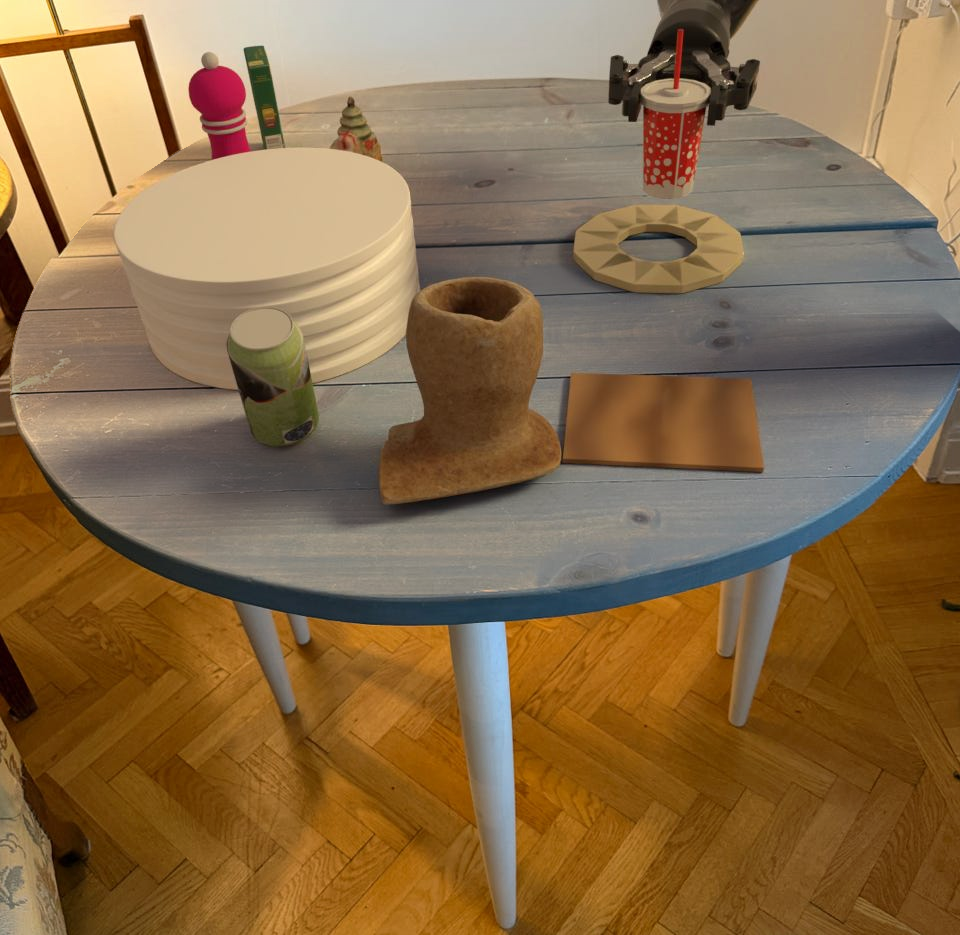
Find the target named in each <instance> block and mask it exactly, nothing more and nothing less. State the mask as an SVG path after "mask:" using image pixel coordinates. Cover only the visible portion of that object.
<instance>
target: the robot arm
mask: <svg viewBox="0 0 960 935" xmlns="http://www.w3.org/2000/svg"><path fill="white" fill-rule="evenodd" d="M759 1H760V0H656V4H657V7H658V12H659V16H660V21H659V22H658V25H657V26H656V28H655V32H654V33H653V37H652V39H651V42H650V45H649V48H648V50H647V52H646V53H647V54H646V56H644V57H642V58H641V59H639V60H638V63H629V61H628V60H627V59H626V60H625V59H624V58H625V57H624V56H623V55H620V54H615V55H612V56H611V57H610V63H609V75H608V76H609V77H608V100H607V101H608V104H609V105H613V106H618V105H620V104H622V106H621V115H622V116H623V117H627V121H628V123H637V122H638V120H639V116H640V113H641V110H642V107H643V105H642V104H641V88H642V87H643V86H645V85H646V84H648V83H651V82H653V81H656V80H663V79H674V72H675V59H676V47H677V34H678V29H683V42H682V54H681V66H680V78H682V79H690V80H696V81H699V82H702V83H705V84H706V85H707V86H709V87H710V88H711V95H710V101H709V104H708V105H707V106H706V108H707V109H708V111H707V118H706V126H708V127H709V126H711V127H714V126H716V122H717V121H723V120H724V119H725V117H726V111H727V108H728V107H730V106H733V109H735V110H737V111H745V110H748V107H749V106H750V103H751V102H752V99H753V97H754V96H755V93H756V90H757V86H758V79H759V73H760V66H761V60H759V59H756V58H752V59H748V60H746V61H745V63H740V64H739V67H738V66H731V62H730V60H729V61H728V57H729V55H730V44H731V43H730V42H731V39H733V38H734V36H736V34H737V33H738V32H739V30H740V29H741V28H742V26H743V25H744V23H745V22H746V20H747V19H748V17H749V16H750V14H751V13H752V11H753V10H754V8H755V7H756V5H757V4H758V3H759ZM731 82H732V83H731Z"/></svg>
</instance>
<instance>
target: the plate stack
mask: <svg viewBox="0 0 960 935" xmlns="http://www.w3.org/2000/svg"><path fill="white" fill-rule="evenodd" d="M251 151H252V152H245V153H240V154H235V155H230V156H226V157H222V158H218V159H214V160H212V159H211V160H208V161H203V162H201V163H198V164H195V165H192V166H189V167H187V168H184V169H181V170H179V171H176V172H174V173H172V174H170V175H168V176H166V177H164V178H162V179H160V180H159V181H156V182H155V183H153V184H152V185H150V186H149V187H147V188H145V189H144V190H142V191H141V192H140V193H138V194H137V195H136V196H135V197H133V198H132V199H131V200H130V201H129V202H128V203H127V204H126V205H125V207H124V208H123V209H122V211H121V212H120V213H119V215H118V217H117V219H116V221H115V223H114V227H113V240H114V244H115V246H116V249H117V252H118V256H119V257H120V259H121V261H122V267H123V270H124V272H125V275H126V276H125V277H126V279H127V281H128V282H129V283H128V284H129V285H130V291H131V293H132V296H133V299H134V302H135V304H136V306H137V309H138V313H139V314H138V315H139V318H140V319H141V323H142V325H143V328H144V330H145V333H146V338H147V340H148V343H149V345H150V349H151V351H152V353H153V354H154V356H155V357H156V359H157V360H158V361H159V362H160V363H161V364H162V365H163V366H164V367H165V368H167V369H168V370H169V371H171V372H172V373H174V374H176V375H177V376H180V377H181V378H184V379H186V380H188V381H191V382H194V383H197V384H200V385H204V386H208V387H213V388H217V389H224V390H233V391H239V390H238V387H237V383H236V380H235V376H234V373H233V369H232V366H231V362H230V359H229V355H228V352H227V345H226V344H227V338H228V336H229V333H230V328H231V325H232V323H233V322H234V320H235V319H236V318H237V317H238V316H240V315H241V314H242V313H244V312H246V311H249V310H251V309H255V308H260V307H273V308H277V309H280V310H283V311H285V312H286V313H287V314H289V316H290V317H291V318H292V320H293V321H294V322H296V323H297V325H298V326H299V327H300V329H301V331H302V333H303V338H304V343H305V348H306V353H307V358H308V363H309V368H310V373H311V378H312V383H313V384H316V383H320V382H325V381H327V380H330V379H333V378H336V377H339V376H342V375H345V374H347V373H350V372H352V371H354V370H357V369H358V368H361V367H363V366H365V365H367V364H369V363H371V362H373V361H374V360H377V359H378V358H379V357H382V355H384V354H385V353H387V352H388V351H390V350H391V349H392V348H393V347H395V346H396V345H397V344H398V343H399V342H401V340H402V339H404V337H406V328H407V321H408V314H409V309H410V306H411V302H412V299H413V298H414V297H415V296H416V294H417V293H418V292H420V291H421V286H420V279H419V277H420V276H419V265H418V260H417V247H416V240H415V239H416V238H415V236H414V235H415V228H414V227H415V226H414V219H413V213H412V201H411V200H412V199H411V192H410V189H409V188H410V187H409V185H408V183H407V181H406V180H405V178H404V177H403V176H402V175H401V174H400V173H399V172H398V171H397V170H395V168H393V167H392V166H391V165H388V164H387V163H386V162H385V163H384V161H383V162H381V161H379V160H376V159H374V158H371V157H368V156H365V155H361V154H357V153H353V152H348V151H343V150H336V149H330V148H325V147H285V148H277V149H267V150H265V149H259V150H251Z"/></svg>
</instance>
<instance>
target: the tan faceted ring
mask: <svg viewBox="0 0 960 935" xmlns="http://www.w3.org/2000/svg"><path fill="white" fill-rule="evenodd" d="M574 233H575V234H574V240H573V241H574V242H573V249H572V257H573V258H572V259H573V261H574V262H575V263H576V264H577V265H578V266H579V267H580V268H582V270H584V272H585V273H586V274H588V275H589V276H590V277H591V278H592V280H594V281H597V282H600V283H604V284H606V285H609V286H613V287H615V288H618V289H622V290H624V291H627V292H631V293H639V294H640V293H641V294H685V293H688V292H693V291H696V290H699V289H703V288H707V287H711V286H714V285H717V284H721V283H723V282H725V280H726V279H727V278H728V277H729V276H730V275H732V273H734V271H735V270H736V269H738V268H739V267H740V266H741V265H742V264H743V262H744V258H745V257H744V256H745V253H744V252H745V251H744V247H743V241H742V240H743V239H742V234H741V232H740V231H738V230H737V229H736V228H734V226H733V227H732V226H731V225H730V224H729V223H727V222H726V221H725V220H723V219H722V218H721V217H719V216H718V215H717V214H714V213H709V212H707V211H702V210H698V209H694V208H691V207H686V206H683V205H679V204H633V205H629V206H624V207H620V208H617V209H612V210H609V211H605V212H601V213H597V214H596V215H595V216H593V217H592V218H591V219H590V220H588V221H586V222H585V223H584V224H582V225H581V226H580V227H579V228H577V229H576V230H575V232H574ZM642 233H669V234H672V235H676V236H679V237H683V238H685V239H686V240H688V241H689V242H690V243H692V245H694V246H695V250H694V251H692V252H691V253H690V254H688V256H685V257H681V258H677V259H673V260H669V261H663V260H662V261H660V260H659V261H658V260H657V261H656V260H653V261H651V260H645V259H641V258H638V257H634V256H632V255H628V254H627V253H626V252H625V251H624V250H623V249H621V248H620V247H619V245H620V244H621V243H622V242H624V241H625V240H626V239H627V238H629V237H630V236H636V235H639V234H642Z"/></svg>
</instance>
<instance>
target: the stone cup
mask: <svg viewBox="0 0 960 935" xmlns="http://www.w3.org/2000/svg"><path fill="white" fill-rule="evenodd" d="M542 312H543V311H542V308H541V303H540V302H539V301H538V299H537V298H536V297H535V295H534V293H532V292H531V291H530V290H528V288H526V287H524V286H522V285H520V284H519V283H516V282H513V281H510V280H506V279H500V278H496V277H487V276H467V277H466V276H465V277H458V278H452V279H446V280H443V281H440V282H436V283H432V284H430V285H428V286H426V287H424V288H422V289H420V292H418V293H417V294H416V296H415V297H414V298H413V299H412V302H411V306H410V309H409V314H408V321H407V328H406V335H405V342H406V343H405V344H406V349H407V355H408V359H409V362H410V365H411V368H412V371H413V375H414V378H415V381H416V385H417V387H418V390H419V394H420V396H421V400H422V404H423V416H422V417H421V419H418V420H415V421H411V422H406V423H400V424H396V425H393V426H391V427H390V428H389V429H388V435H387V440H386V441H385V442H384V443H383V446H382V448H380V452H379V463H378V465H379V466H378V490H379V493H380V496H381V502H382V504H383V505H398V504H406V503H407V504H408V503H415V502H420V501H428V500H434V499H440V498H448V497H453V496H458V495H464V494H465V495H466V494H471V493H476V492H481V491H486V490H492V489H497V488H502V487H505V486H509V485H514V484H518V483H523V482H527V481H531V480H535V479H538V478H541V477H545V476H546V475H549V474H551V473H553V472H554V471H556V470H557V469H558V468H559V466H560V465H561V461H562V448H561V444H560V443H561V442H560V440H559V436H558V434H557V432H556V430H555V429H554V427H553V425H552V424H551V423H550V422H549V420H547V419H546V418H545V417H544V416H543V415H541V414H540V413H539V412H537V411H535V410H534V409H531V408H529V404H530V399H531V395H532V392H533V389H534V387H535V384H536V382H537V379H538V375H539V373H540V369H541V366H542V361H543V360H542V359H543V355H544V321H543V320H544V319H543V313H542Z"/></svg>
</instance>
